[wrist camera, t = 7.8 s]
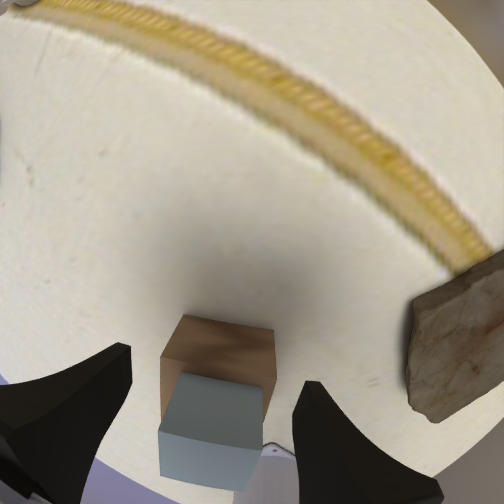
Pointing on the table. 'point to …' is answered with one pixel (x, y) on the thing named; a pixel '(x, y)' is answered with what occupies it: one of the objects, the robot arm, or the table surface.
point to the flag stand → (17, 2)
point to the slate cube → (211, 432)
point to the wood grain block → (219, 356)
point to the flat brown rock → (457, 341)
